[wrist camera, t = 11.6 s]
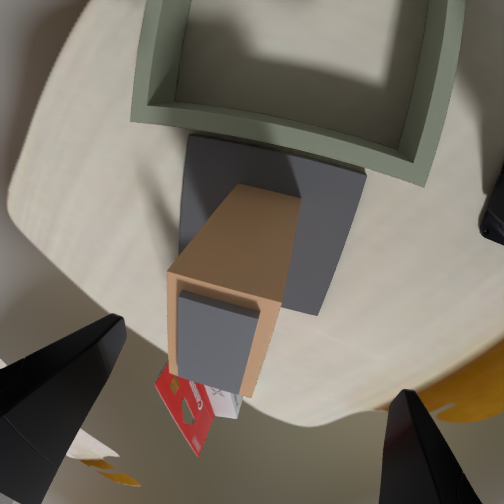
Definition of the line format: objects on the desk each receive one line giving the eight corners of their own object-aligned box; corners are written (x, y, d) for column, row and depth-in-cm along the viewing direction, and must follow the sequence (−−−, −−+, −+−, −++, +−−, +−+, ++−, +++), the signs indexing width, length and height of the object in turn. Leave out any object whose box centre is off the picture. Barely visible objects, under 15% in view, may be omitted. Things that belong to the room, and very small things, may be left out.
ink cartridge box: (234, 288, 24) (190, 390, 16) (249, 377, 29) (225, 463, 21) (203, 286, 24) (151, 382, 16) (226, 375, 30) (196, 458, 21)
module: (301, 198, 18) (280, 310, 10) (280, 278, 22) (249, 404, 13) (237, 183, 19) (162, 277, 10) (225, 263, 22) (166, 379, 13)
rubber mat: (365, 173, 17) (367, 175, 17) (317, 310, 23) (317, 316, 23) (192, 133, 18) (188, 135, 18) (180, 274, 24) (177, 278, 24)
